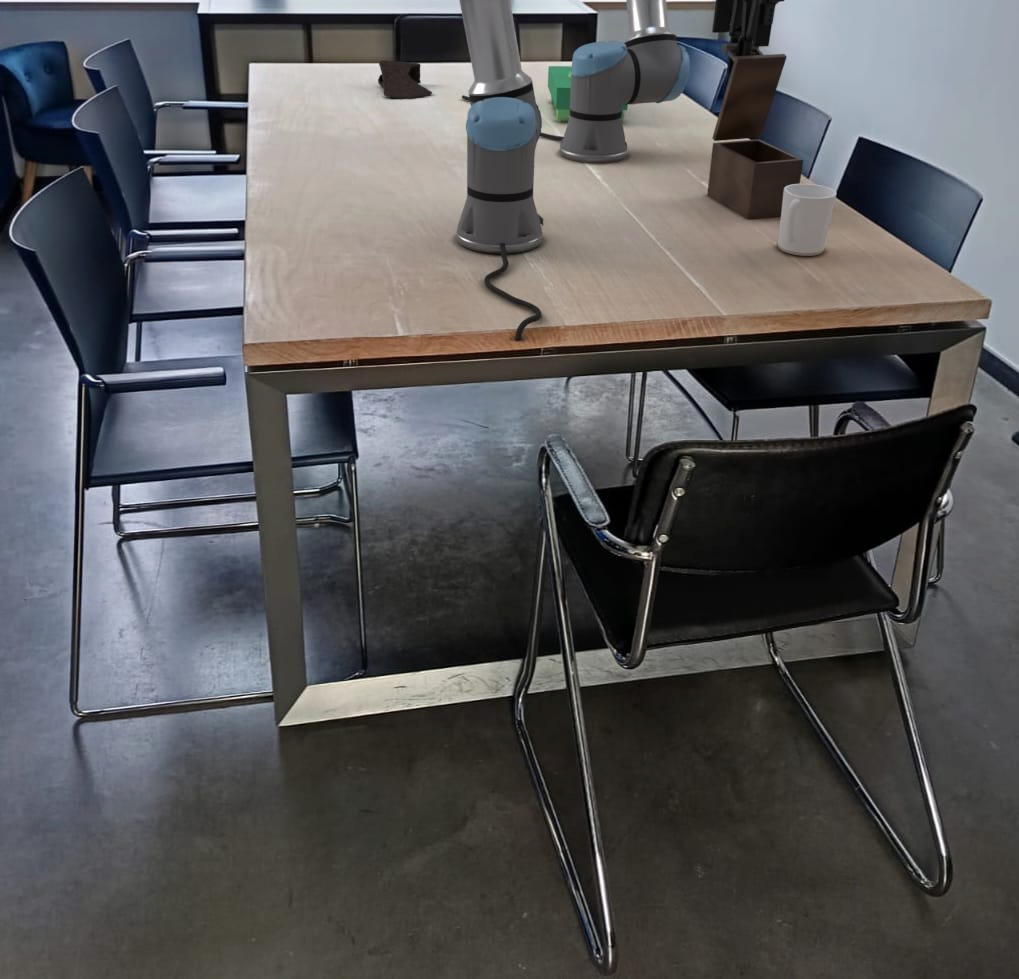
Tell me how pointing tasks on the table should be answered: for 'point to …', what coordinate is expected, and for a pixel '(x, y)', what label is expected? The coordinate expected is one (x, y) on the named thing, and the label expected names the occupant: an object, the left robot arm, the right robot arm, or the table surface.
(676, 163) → the table surface
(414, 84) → the axe head
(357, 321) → the table surface
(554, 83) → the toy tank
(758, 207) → the chest
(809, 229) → the mug
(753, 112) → the lid
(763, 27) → the left robot arm
